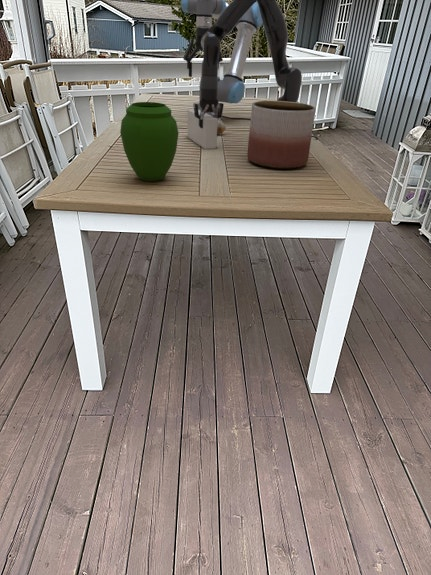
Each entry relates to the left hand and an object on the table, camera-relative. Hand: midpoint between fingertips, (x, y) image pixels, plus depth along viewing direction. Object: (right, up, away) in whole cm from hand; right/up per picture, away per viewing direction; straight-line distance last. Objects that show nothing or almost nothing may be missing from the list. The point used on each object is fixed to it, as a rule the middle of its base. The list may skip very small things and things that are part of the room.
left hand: (202, 76), depth 209 cm
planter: (+32, -55, -36) cm, 73 cm away
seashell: (+7, -28, +5) cm, 29 cm away
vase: (-16, -69, -62) cm, 94 cm away
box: (0, -38, -11) cm, 39 cm away
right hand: (+3, -35, -22) cm, 41 cm away
